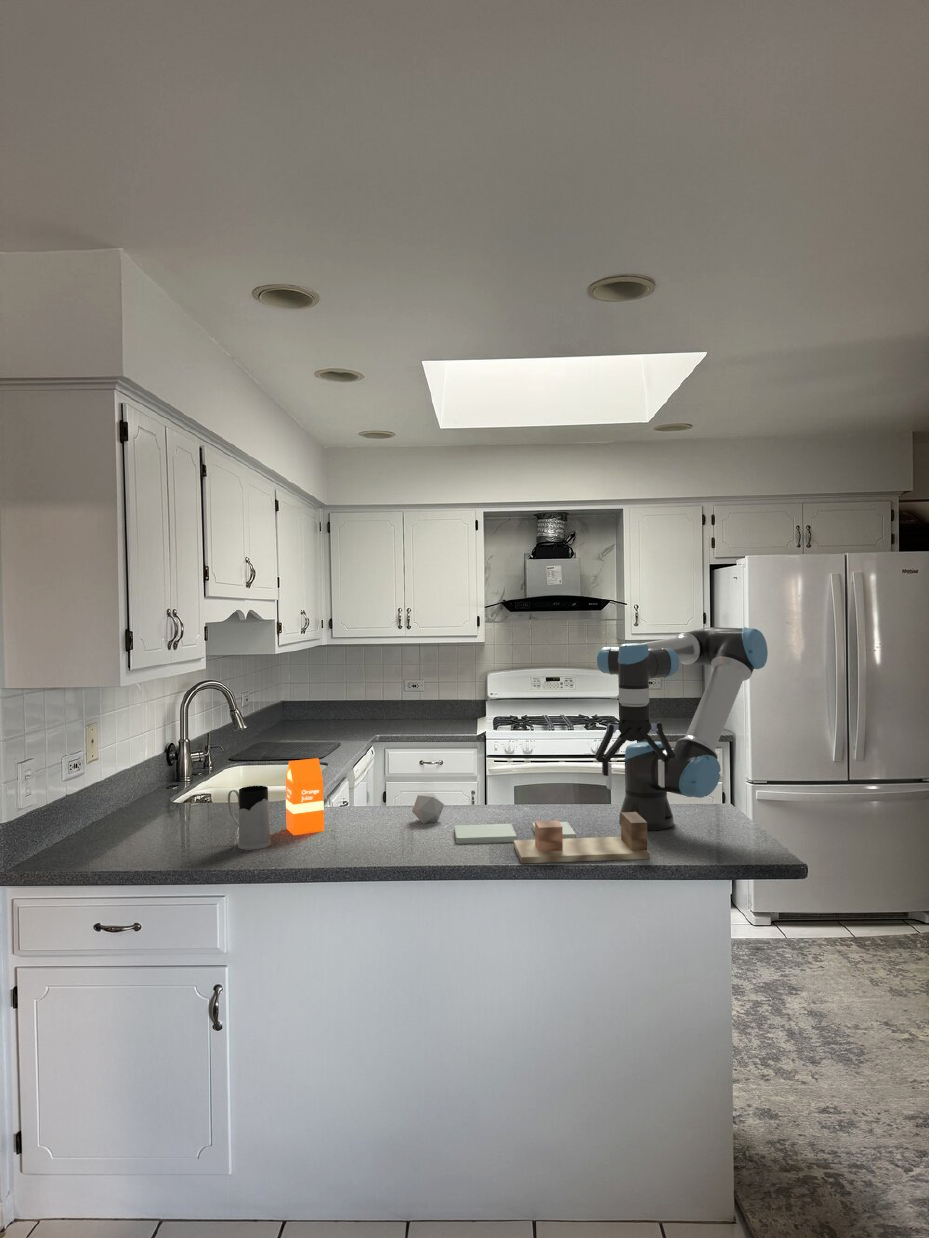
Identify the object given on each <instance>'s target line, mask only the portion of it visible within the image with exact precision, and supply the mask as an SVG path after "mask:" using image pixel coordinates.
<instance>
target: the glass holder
mask: <svg viewBox="0 0 929 1238" xmlns="http://www.w3.org/2000/svg"><path fill="white" fill-rule="evenodd" d="M232 792H234V793H235V794H236V796H237V803H238V807H239V808H238V819H237V818H236V816H235V814H234V812H233V809H232V805H231V804H232V803H231V794H232ZM227 806H228V810H229V813H230V816H231V817H232V819H233V822H234V823H235V824H236V826H237V827H238V835H239V836H238V839H239V840H238V843H237V847H238V849H241V850H248V851H251V850H260V849H261V850H262V849H265V848H268V847H269V846H271V845H272V841H271V837H270V801H269V787H268V786H266V785H249V786H248V785H247V786H243V787H241V788H239V789H238V790H236V789H232V790H230V791H229V792H228V793H227Z"/></svg>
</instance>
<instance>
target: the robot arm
mask: <svg viewBox="0 0 929 1238" xmlns="http://www.w3.org/2000/svg"><path fill="white" fill-rule="evenodd" d="M767 661H768V643H767V641H766V637H765V636H764V634H763V633H762V632H761V631H760V630H758V629H757V628H749V627H746V626H744V627H739V628H738V627H716V626H714V627H713V626H712V627H711V626H710V627H704V628H700V629H695V630H690V631H687V632H686V631H685V632H682V633H679V634H677V635H676V636H675V637H671V638H665V639H660V640H654V641H646V642H641V643H640V642H635V643H633V642H632V643H622V644H620V645H619V646H612V645H610V646H604V647H602V648H601V649H600V650H599V651H598V652H597V656H596V665H597V669H599V671H600V672H601V673H603V674H606V675H607V674H609V675H612V676H613V675H616V676H617V675H618V681H619V682H618V693H619V694H618V702H619V703H620V704H619V707H618V711H619V713H618V714H619V719H618V720H619V721H618V724H613V723H610V722H609V723H607V724H606V729H605V730H606V732H605V734H604V736H603V738H602V739H601V742H600V744H599V747H598V749H597V751H596V753H595V755H594V759H595V760H596V761H597V762H599V763H601V768H602V769H601V773H602V775H603V776H604V777H605V778H606V779H605V784H606V786H605V787H606V788H607V789H608V790H613V782H612V780H613V779H612V778H613V777H612V776H613V774H612V773H613V772H612V769H613V767H612V763H611V762H610V761H611V760H612V758H613V757H614V756H615V754H617V752H618V751H619V750H620V749H621V748H622V746H623V745H624V744H625V743H626V742H637V743H631V744H628V745H627V746H626V747H625V751H624V759H623V760H624V782H625V783H624V787H625V788H624V789H625V793H624V794H625V795H624V799H623V802H622V804H621V809H620V811H619V813H618V814H619V815H618V817H619V819H618V820H619V824H620V825H621V812H637V813H638V814H639V815H640V816H641V817H642V818H643V819H644V820H645V821H646V822H647V831H660V830H667V829H669V828H670V829H671V828H673V826H674V815H673V812H672V808H671V805H670V803H669V800H668V793H672V794H675V795H676V794H677V795H680V796H684V797H687V798H698V799H701V798H706V797H708V796H709V795H711V794H712V793H713V792H714V791H715V789H716V787H718V784H719V782H720V778H721V774H720V772H721V764H720V762H719V760H718V758H719V756H718V754H717V752H716V748H717V747H718V746H717V745H718V742H719V741H720V738H721V735H722V734H723V732H724V728H725V726H726V723H727V721H728V718H729V716H730V714H731V711H732V708H733V706H734V704H735V701H736V699H737V696H738V694H739V691H740V689H741V687H742V684H743V682H744V681H748V680H749V679H751V677H752V675H753V672H754V670H760V669H763V668H764V667H765V665H766V663H767ZM680 664H683V665H687V666H688V665H703V666H711V667H712V669H713V670H712V673H711V676H710V678H709V680H708V682H707V684H706V687H705V689H704V691H703V693H702V697H701V698H700V701H699V704H698V705H697V707H696V710H695V713H694V715H693V716H692V719H691V723H690V725H689V727H688V728H687V732H686V734H685V736H684V737H682V738H678V739H677V741H676V743H675V745H674V747H673V748H672V747H671V745H670V742H669V740H668V739H667V737H666V735H665V733H664V729H663V724H662V723H661V722H660V721H655V722H653V723H651V722H650V706H649V705H648V704H649V703H650V686H649V685H650V679H651V680H653V679H659V678H667V677H670V676H673V675H675V674H676V673H677V672H678V670H679V668H680ZM617 730H618V732H620V734H619V735H618V737H617V739H616V740H615V741H614V742H613V743H612V745H611V746H610V747H609V745H610V743H611V740H612V739H613V736H614V734H615V733H616V732H617ZM651 730H653V731H654V732H655V734H656V735H657V737H658V739H659V741H654V740H653V738H652V737H651V736H650V735H649V733H650V732H651ZM643 740H644V742H642V741H643ZM608 747H609V748H608ZM607 749H608V750H607ZM606 750H607V751H606Z"/></svg>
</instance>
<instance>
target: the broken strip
mask: <svg viewBox="0 0 929 1238" xmlns="http://www.w3.org/2000/svg"><path fill="white" fill-rule="evenodd" d="M559 823H560V824H561V825H562V832H563V839H567V838H577V834H576V832H575V831H574V829H573V828H572V826H571V825H570V823H569V822H568V821H559ZM453 826H454V827H453V831H454V837H455V841H456V844H457V845H458V844H459V845H461V844H483V843H484V844H485V843H487V844H488V843H489V844H490V843H514V840H518V839H517V838H518V837H517V833H516V832H515V829H514V828H513V825H512V823H493V824H490V823H487V824H484V823H483V824H462V825H461V824H458V825H457V824H456V825H453ZM531 828H532V830H533V832H534V833H535V822H532V823H531Z"/></svg>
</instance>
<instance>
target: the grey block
mask: <svg viewBox="0 0 929 1238" xmlns="http://www.w3.org/2000/svg"><path fill="white" fill-rule="evenodd" d="M415 799H416V800H415V802H414V805H413V807H412V811H411V812H412V813H413V815H414V816H415V817H416V818H418V820H419V821H420V822H421V823H422V824H427V823H428V824H429V823H434V822H438V821H439V819H440V818H441V814H442V811H443V808H444V807H445V804H444V803H443V802H442V801H441V799H440V798H439V797H438V796H437V795H436V794H434V792H430V793H424V794H423V793H422V794H418V795H417V797H416V798H415Z"/></svg>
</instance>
